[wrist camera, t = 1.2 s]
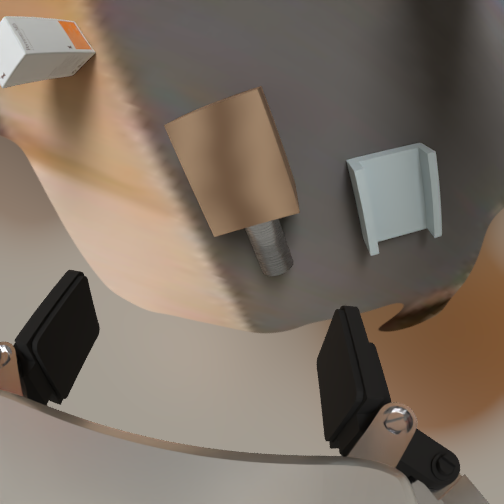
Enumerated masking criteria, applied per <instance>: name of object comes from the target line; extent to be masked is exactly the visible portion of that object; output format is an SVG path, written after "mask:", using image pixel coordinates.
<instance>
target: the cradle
mask: <svg viewBox="0 0 504 504" xmlns="http://www.w3.org/2000/svg"><path fill="white" fill-rule="evenodd" d="M346 162H347V166H348V170H349V174H350V178H351V182H352V187H353V191H354V196H355V200H356V205H357V210H358V215H359V219H360V225H361V230H362V235H363V239H364V241H365V244H366V246H367V248H368V251H369V253H370V255H371V256H372V255H376V254H379V248H378V242H379V241H383V240H386V239H390V238H394V237H397V236H401V235H404V234H408V233H412V232H415V231H419V230H422V229H426V228H427V229H428V230H429V231H430V233H431V234H432V235H433V236H434V238H436V237H440V236H442V219H441V201H440V187H439V176H438V167H437V158H436V152H435V151H434V150H432V149H431V148H429V147H427V146H426V145H424V144H422V143H416V144H411V145H407V146H402V147H398V148H394V149H389V150H385V151H381V152H377V153H372V154H368V155H364V156H360V157H356V158H352V159H348V160H346Z"/></svg>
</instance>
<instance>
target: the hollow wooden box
mask: <svg viewBox="0 0 504 504" xmlns="http://www.w3.org/2000/svg"><path fill="white" fill-rule="evenodd" d="M164 126H165V129H166V131H167V133H168V136H169V138H170V140H171V142H172V145H173V147H174V149H175V151H176V154H177V156H178V158H179V160H180V163H181V165H182V167H183V169H184V172H185V174H186V176H187V178H188V181H189V183H190V185H191V187H192V189H193V192H194V194H195V196H196V198H197V200H198V203H199V205H200V207H201V209H202V211H203V213H204V216H205V218H206V220H207V222H208V224H209V226H210V228H211V231H212V233H213V235H214V237H216V236H219V235H223V234H226V233H230V232H233V231H237V230H240V229H244V228H247V227H251V226H254V225H258V224H261V223H265V222H268V221H272V220H275V219H279V218H282V217H286V216H290V215H293V214H297V213H300V211H299V204H298V198H297V192H296V186H295V181H294V178H293V175H292V172H291V169H290V166H289V163H288V160H287V157H286V154H285V151H284V148H283V145H282V142H281V139H280V136H279V133H278V131H277V128H276V125H275V122H274V119H273V116H272V114H271V111H270V108H269V105H268V103H267V100H266V97H265V95H264V92H263V89H262V87H261V86H260V87H257V88H254V89H251V90H248V91H245V92H242V93H239V94H236V95H234V96H231V97H228V98H225V99H223V100H220V101H217V102H215V103H212V104H209V105H207V106H204V107H202V108H199V109H197V110H194V111H192V112H190V113H187V114H185V115H183V116H181V117H179V118H177V119H175V120H173V121H171V122H170V123H168V124H166V125H164Z"/></svg>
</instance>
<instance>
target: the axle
mask: <svg viewBox="0 0 504 504" xmlns="http://www.w3.org/2000/svg"><path fill="white" fill-rule="evenodd" d="M245 230H246V233H247V235H248V237H249V240H250V242H251V245H252V247H253V250H254V252H255V254H256V257H257V259H258V262H259V264H260V267H261V269H262V271H263V273H264V274H265V275H267V276H277V275H280V274H283V273H285V272H286V271H288V270H289V269H290V268H291V267H292V265H293V259H292V256H291V253H290V250H289V247H288V244H287V241H286V238H285V236H284V233H283V230H282V227H281V224H280V221H279V219H275V220H272V221H268V222H265V223H261V224H258V225H254V226H251V227H247V228H245Z"/></svg>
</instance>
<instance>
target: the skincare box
mask: <svg viewBox="0 0 504 504" xmlns="http://www.w3.org/2000/svg"><path fill="white" fill-rule="evenodd" d="M94 54H95V51H94V50H93V48H92V47H91V45H90V44H89V42H88V41H87V40H86V38H85V37H84V35H83V34H82V32H81V31H80V29H79V27H78V26H77V24H76V23H75V21H68V20H60V19H50V18H37V17H14V16H5V17H4V18H3V19H2V21H1V22H0V85H1V87H2V88H7V87H11V86H15V85H20V84H25V83H30V82H35V81H41V80H47V79H53V78H60V77H68V76H73V75H74V74H75V73H76V72H77V71H78V70H79V69H80V68H81V67H82V66H83V65H84V64H85V63H86V62H87V61H88V60H89V59H90V58H91V57H92V56H93V55H94Z"/></svg>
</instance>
